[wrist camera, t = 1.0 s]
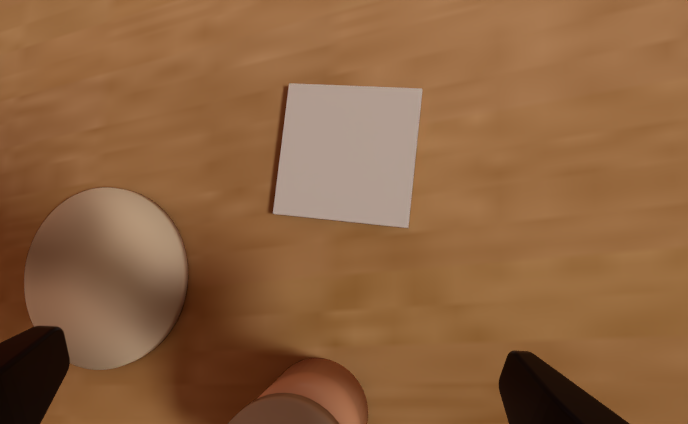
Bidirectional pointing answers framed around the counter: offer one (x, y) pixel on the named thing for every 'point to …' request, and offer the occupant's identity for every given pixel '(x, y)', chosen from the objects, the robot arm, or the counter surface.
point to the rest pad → (348, 153)
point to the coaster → (107, 276)
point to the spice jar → (309, 397)
